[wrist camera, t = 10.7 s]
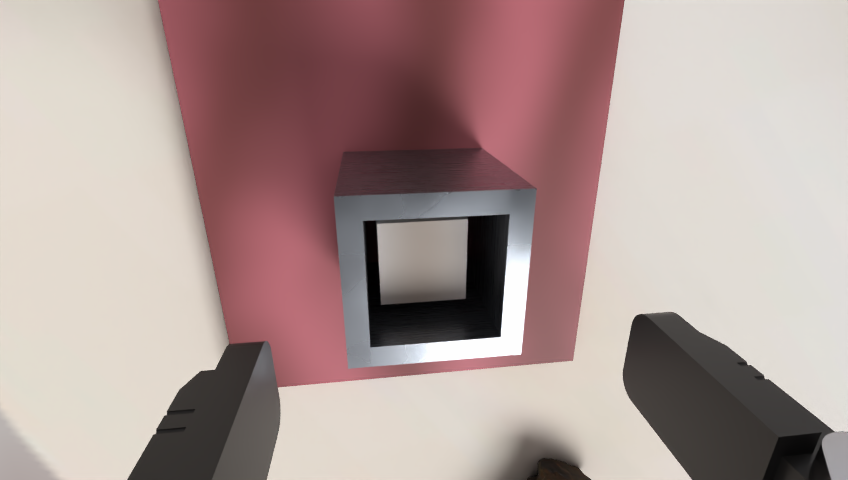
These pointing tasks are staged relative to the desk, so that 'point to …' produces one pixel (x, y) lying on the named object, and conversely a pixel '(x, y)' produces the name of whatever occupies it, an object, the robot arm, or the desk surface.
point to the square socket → (486, 254)
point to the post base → (381, 131)
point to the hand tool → (557, 471)
